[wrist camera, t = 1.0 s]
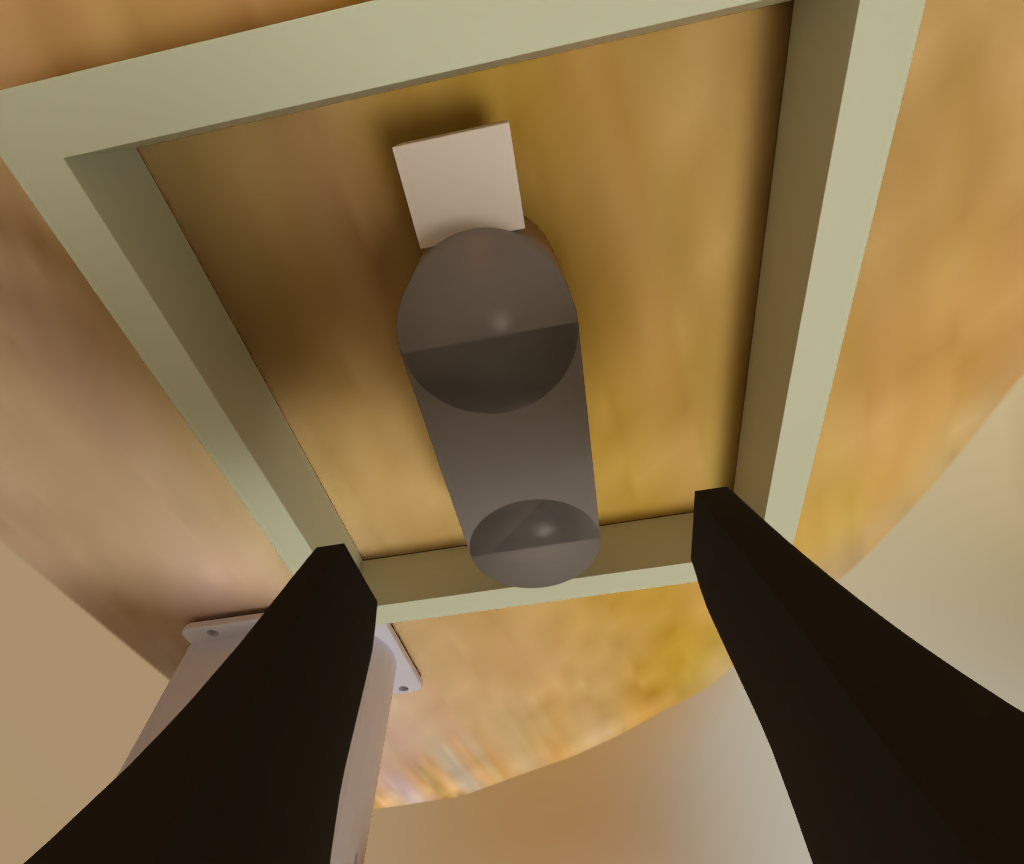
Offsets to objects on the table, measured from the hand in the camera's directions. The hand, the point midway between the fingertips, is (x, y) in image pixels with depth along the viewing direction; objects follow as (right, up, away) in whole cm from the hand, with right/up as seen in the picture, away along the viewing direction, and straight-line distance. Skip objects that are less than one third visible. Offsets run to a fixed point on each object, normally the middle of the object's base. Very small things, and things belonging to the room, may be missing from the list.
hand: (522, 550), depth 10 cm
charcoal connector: (0, +4, +6) cm, 7 cm away
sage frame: (0, +4, +5) cm, 7 cm away
